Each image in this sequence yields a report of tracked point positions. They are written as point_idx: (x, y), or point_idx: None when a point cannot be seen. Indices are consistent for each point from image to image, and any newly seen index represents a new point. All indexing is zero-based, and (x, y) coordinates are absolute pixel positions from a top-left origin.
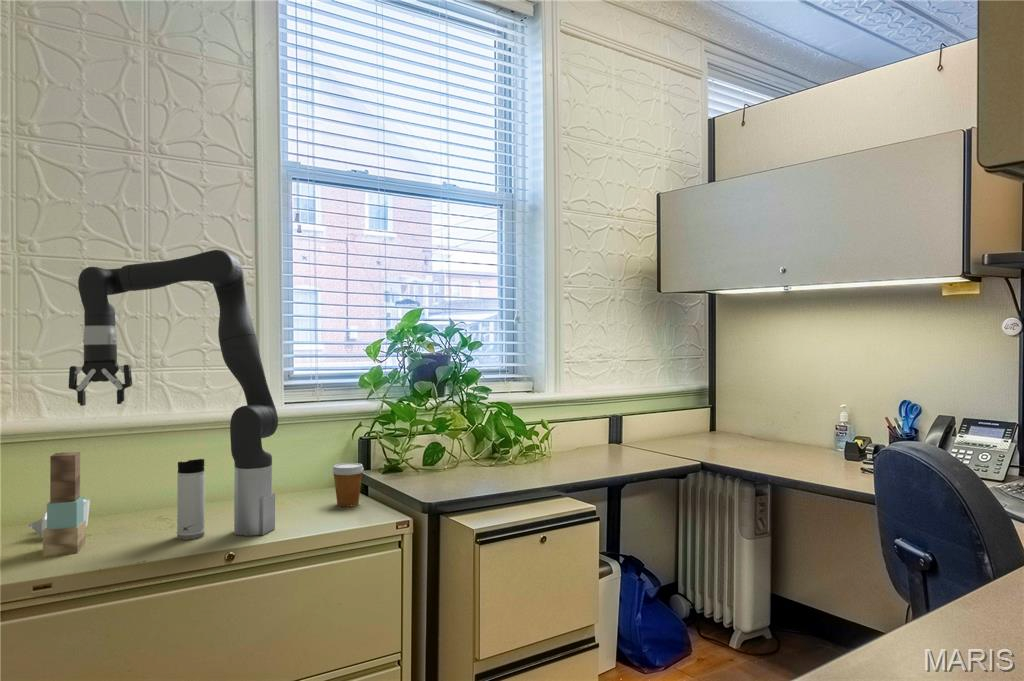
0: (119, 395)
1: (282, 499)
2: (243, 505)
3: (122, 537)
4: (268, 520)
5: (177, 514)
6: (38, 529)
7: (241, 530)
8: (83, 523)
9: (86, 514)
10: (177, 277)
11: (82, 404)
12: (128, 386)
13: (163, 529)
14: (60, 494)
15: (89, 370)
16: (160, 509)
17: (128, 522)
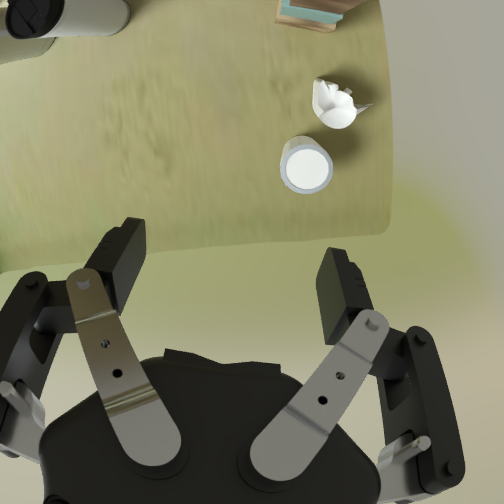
0: (110, 244)
1: (25, 211)
2: None
3: (217, 43)
4: None
5: (111, 6)
6: (357, 105)
7: None
8: (278, 3)
9: (284, 150)
10: None
11: (333, 248)
12: (33, 273)
13: (153, 73)
14: None
15: (316, 469)
16: (175, 219)
17: (216, 147)
